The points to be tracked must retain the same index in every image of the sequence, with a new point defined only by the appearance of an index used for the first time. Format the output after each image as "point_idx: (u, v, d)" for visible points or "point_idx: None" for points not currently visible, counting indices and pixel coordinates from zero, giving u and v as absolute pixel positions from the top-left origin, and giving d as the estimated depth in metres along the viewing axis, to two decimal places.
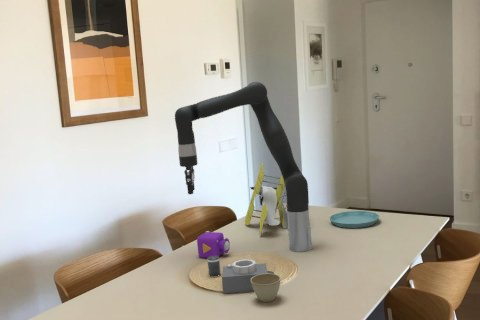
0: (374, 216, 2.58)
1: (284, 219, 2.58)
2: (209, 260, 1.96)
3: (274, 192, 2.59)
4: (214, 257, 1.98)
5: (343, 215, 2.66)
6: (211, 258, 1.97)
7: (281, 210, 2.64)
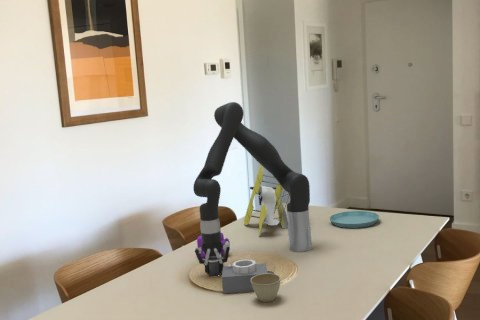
0: (374, 216, 2.58)
1: (283, 219, 2.58)
2: (209, 260, 1.96)
3: (273, 192, 2.59)
4: (214, 257, 1.98)
5: (343, 215, 2.66)
6: (211, 258, 1.97)
7: (280, 210, 2.64)
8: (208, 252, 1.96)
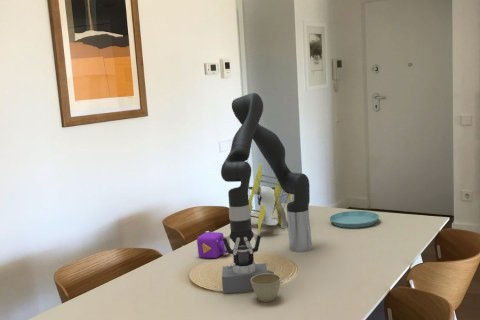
0: (374, 216, 2.58)
1: (282, 219, 2.59)
2: (238, 250, 1.81)
3: (272, 192, 2.60)
4: (244, 246, 1.83)
5: (343, 215, 2.66)
6: (240, 247, 1.82)
7: (279, 210, 2.64)
8: (237, 241, 1.81)
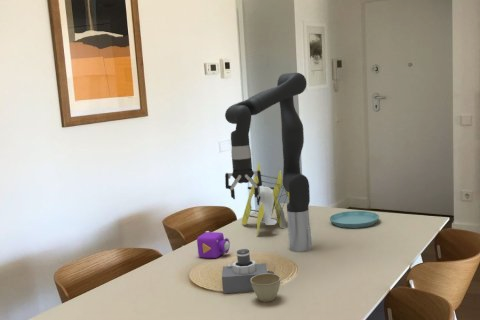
0: (374, 216, 2.58)
1: (281, 219, 2.59)
2: (239, 254, 1.81)
3: (271, 192, 2.60)
4: (244, 251, 1.83)
5: (343, 215, 2.66)
6: (241, 252, 1.82)
7: (278, 210, 2.65)
8: (238, 178, 1.98)
